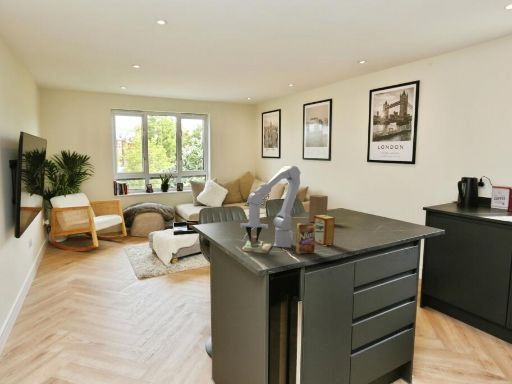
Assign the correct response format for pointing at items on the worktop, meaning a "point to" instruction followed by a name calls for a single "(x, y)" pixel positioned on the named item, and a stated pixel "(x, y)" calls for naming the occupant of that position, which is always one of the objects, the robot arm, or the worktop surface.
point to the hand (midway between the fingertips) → (253, 241)
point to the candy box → (305, 238)
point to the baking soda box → (324, 229)
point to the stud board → (264, 247)
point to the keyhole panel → (249, 243)
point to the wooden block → (317, 206)
